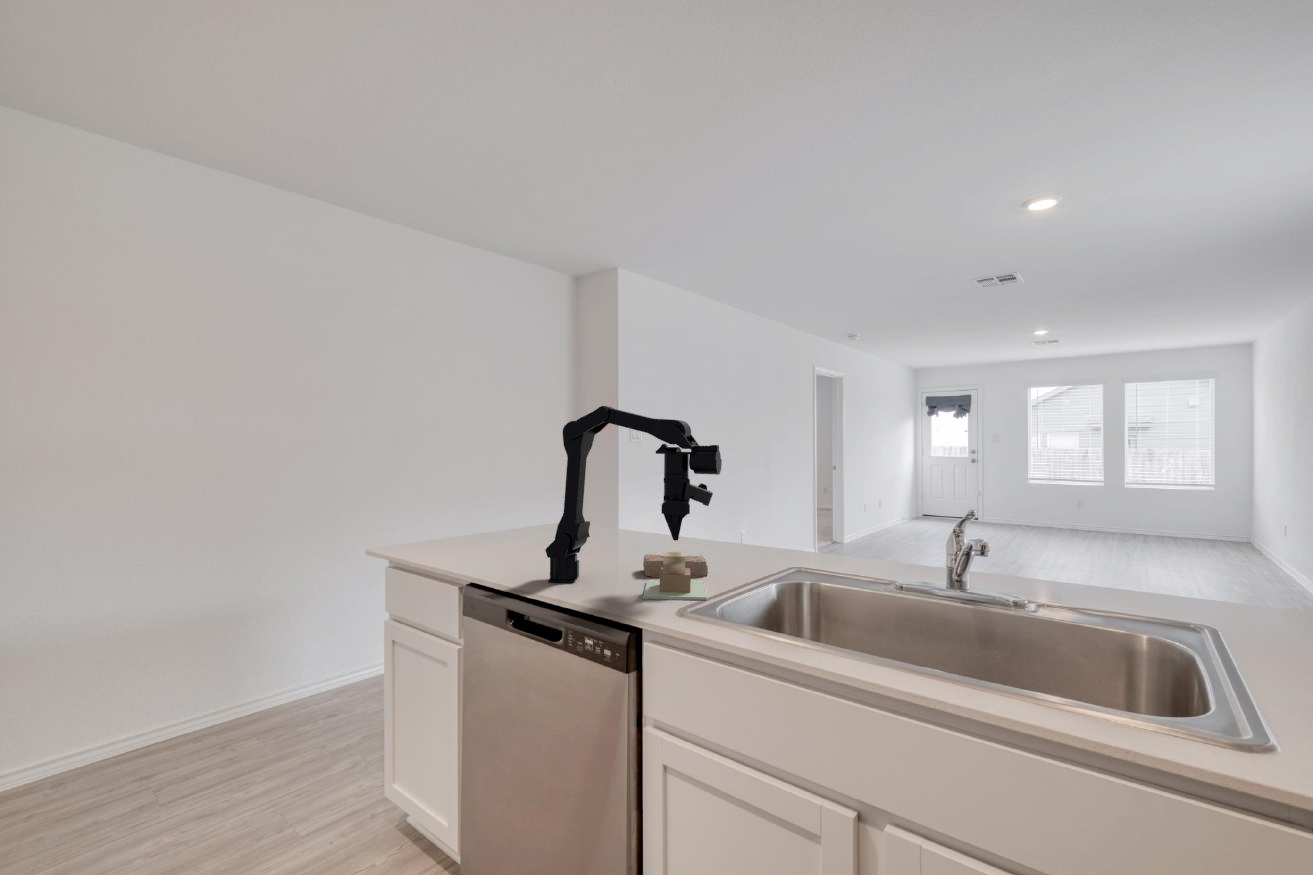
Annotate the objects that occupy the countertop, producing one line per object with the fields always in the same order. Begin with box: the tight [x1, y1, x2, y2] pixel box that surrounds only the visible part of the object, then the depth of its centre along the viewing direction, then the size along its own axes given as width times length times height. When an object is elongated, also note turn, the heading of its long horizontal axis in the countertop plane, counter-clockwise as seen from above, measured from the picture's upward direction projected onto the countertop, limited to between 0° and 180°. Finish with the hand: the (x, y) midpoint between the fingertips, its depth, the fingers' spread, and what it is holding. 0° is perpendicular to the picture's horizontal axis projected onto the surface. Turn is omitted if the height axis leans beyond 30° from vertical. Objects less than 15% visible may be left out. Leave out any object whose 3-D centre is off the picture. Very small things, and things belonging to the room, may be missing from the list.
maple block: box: [663, 551, 686, 574], centre depth 135 cm, size 5×5×4 cm
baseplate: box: [642, 568, 707, 601], centre depth 135 cm, size 14×14×5 cm
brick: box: [642, 553, 709, 578], centre depth 154 cm, size 17×8×5 cm, turn 95°
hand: (675, 540), depth 135 cm, fingers closed
